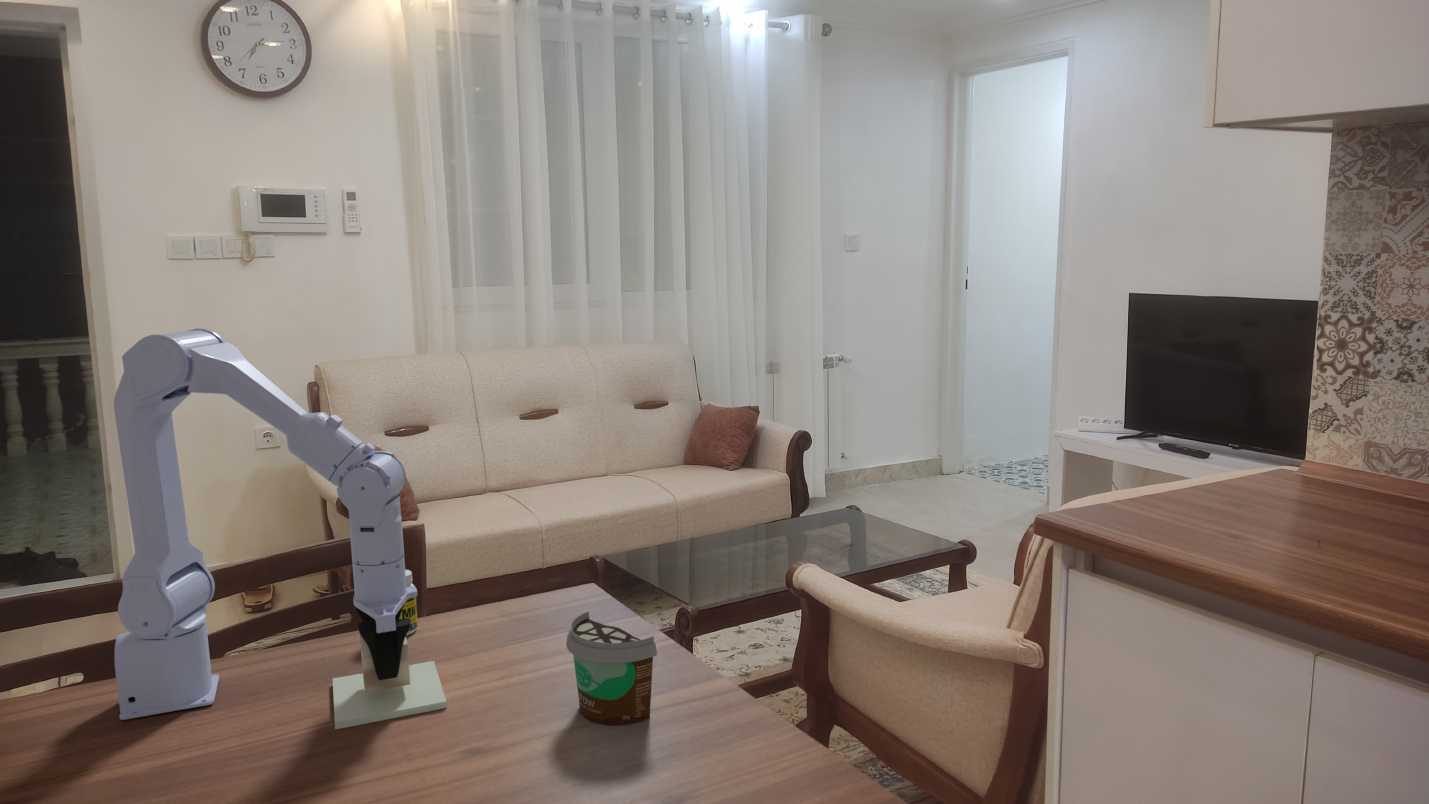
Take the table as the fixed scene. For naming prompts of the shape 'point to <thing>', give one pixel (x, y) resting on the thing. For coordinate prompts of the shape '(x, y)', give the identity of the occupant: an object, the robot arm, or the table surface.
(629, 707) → the food container
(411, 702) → the tile
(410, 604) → the supplement bottle
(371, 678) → the cube
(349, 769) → the table surface
